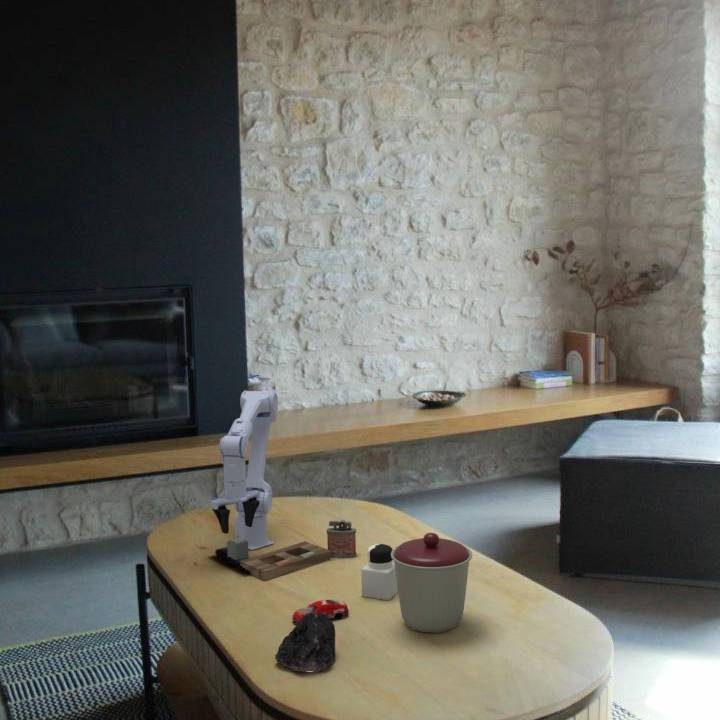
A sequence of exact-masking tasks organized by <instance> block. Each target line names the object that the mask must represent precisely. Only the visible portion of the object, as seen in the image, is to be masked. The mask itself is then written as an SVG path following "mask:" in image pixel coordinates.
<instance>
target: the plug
mask: <svg viewBox="0 0 720 720" xmlns="http://www.w3.org/2000/svg"><path fill="white" fill-rule="evenodd" d="M226 548H227V558H228V557H231V558H233V559H236V560H237V559H240V558H250V557H249V555H250V554H249V549H248V541H246V540H243V539H241V538H236V539H235V538H233V539H231V540H227V542H226Z"/></svg>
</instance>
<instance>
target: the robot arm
mask: <svg viewBox="0 0 720 720" xmlns="http://www.w3.org/2000/svg"><path fill="white" fill-rule="evenodd" d="M239 399H240V400H239V401H240V403H239V404H240V405H239V406H240V409H241V412H240V415H239V418H238V417H237V418H236V419H235V420H234V421H233V422H232V424H231V427H230V429H229V430H228V433H227V435H224V436H222V437H221V438H220V441H219V448H218V449H219V455H220V457H221V459H220V460H221V464H223V481H224V482H223V484H224V495H223V496H220V497H218V498H216V499H214V500H210V508H211V509H212V512H213V513H214V515H215V516H216V518H217V520H218V523H219V526H220V529H221V533H222V534H225V535H226V534H229V530H230V529H229V527H230V526H229V525H230V524H229V520H230V514H231V510H230V509H229V508H228V507H226V506H231V505H233V506H234V509H235V511H236V512H237V514H236V515H235V517H234V539H236V538H241V539H243V540H246V541H248V550H250V551H254V550H257V549H261V548H264V547H268V546H270V545H274V544H275V541H272V540H269V539H268V517H267V516H268V515H267V514H269V513H270V512H271V511H272V506H273V489H272V486H271V485H270V484H269V483H268V482H266V481H265V471H266V462H267V461H266V459H267V453H268V443H269V434H270V428H271V424H273V423H274V422H275V423H276V421H277V417H278V408H279V400H278V399H279V397H278V394H277V392H276V391H275V390H267V391H264V390H262V391H261V390H260V391H259V390H256V391H255V390H246V389H245V390H243V392H241V395H240V398H239ZM250 437H251V440H250ZM249 440H250V442H249ZM249 445H250V449H249ZM248 450H249V451H248ZM248 452H249V457H248V464H247V465H248V466H247V469H246V456H247V455H248ZM246 470H247V473H246Z"/></svg>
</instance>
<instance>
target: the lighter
mask: <svg viewBox="0 0 720 720" xmlns="http://www.w3.org/2000/svg"><path fill="white" fill-rule="evenodd" d="M328 527H329V528H327V529H326V534H327V535H326V536H327V538H326V539H327V540H326V541H327V550H330V551H331V559H332V558H333V559H334V558H335V559H352V558H353V559H354V558H356V557H358V556H357V555H358V553H357V550H356V548H357V543H356V541H357V539H356V533H357V529H356V528H354V527H352V521H347V520H345V519H340V520H329V521H328Z"/></svg>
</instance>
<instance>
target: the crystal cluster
mask: <svg viewBox="0 0 720 720" xmlns="http://www.w3.org/2000/svg"><path fill="white" fill-rule="evenodd" d="M336 651H337V650H336V628H335V624H334V622H333V620H330V619H329V617H328V616H327V615H326V614H325V613H322V612H320V613H318V614H317V615H316V614H314V613H312V612H310V613H308V614H306V615H304V616H303V617H302V618H301V619H300V620H299V621H298V624H296V625H295V626H294V628H293V629H292V630H291V631H290V632H289V633H288V635H286V636H285V637H284V638H283V639H282V641H281V643H280V645H279V646H278V650H277V652H276V654H275V656H274V657H275V658H274V659H275V661H276V662H277V663H278V662H279V663H278V664H282V665H283V664H284V665H283V666H284V667H286V668H289V669H291V670H292V671H295V672H304V671H319V672H322V671H324V670H325V669H327V668H329V667H330V666H331V665H333V664H334V662H335V661H336V656H337V653H336ZM328 666H329V667H328ZM321 670H322V671H321ZM304 673H305V672H304Z"/></svg>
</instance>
